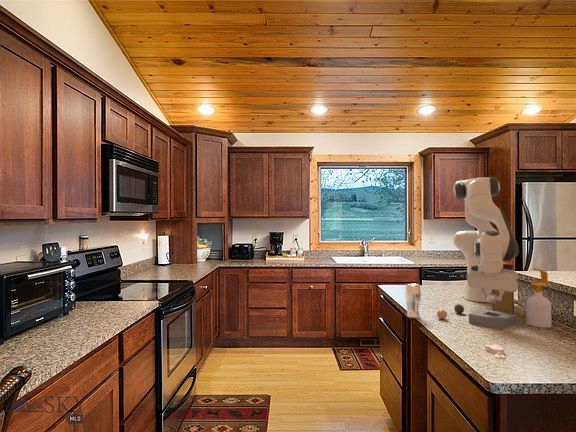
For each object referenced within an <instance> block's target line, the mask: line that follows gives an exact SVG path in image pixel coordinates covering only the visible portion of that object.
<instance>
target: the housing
mask: <svg viewBox="0 0 576 432" xmlns="http://www.w3.org/2000/svg"><path fill="white" fill-rule="evenodd" d="M468 323H469V324H473V325H477V326H482V327H487V328H492V329H497V330H502V331H504V330H506V329H507V328H510V327H512V326H514V325H517V314H515V313H514V314H510V313H504V312H498V311H492V309H486V308H482V309H479V310H477V311H476V310H475V311H474V312H470V313H468Z"/></svg>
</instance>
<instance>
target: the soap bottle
mask: <svg viewBox="0 0 576 432" xmlns="http://www.w3.org/2000/svg"><path fill="white" fill-rule="evenodd" d="M531 269H532V270H536V271H538V272H540V282H536V283H535V282H531V283H530V285H531V286H534V288H535V289H534V290H533V295H532V296H529V297H528V298H526V300H525V321H526V322H525V323H526V325H528V326H531V327H535V328H541V329H542V328H543V329H547V328H551V327H552V302H551V301H550V300H549V299H548V298H546V297H545V296H544V295H543V294H544V293H543V292H544V291H543V290H541V288H542V287H543V286H547V285H548V281H549V280H548V277H549V275H548V272H547V271H546V270H543V269H539V268H535V267H531Z"/></svg>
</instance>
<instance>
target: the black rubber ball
mask: <svg viewBox="0 0 576 432" xmlns="http://www.w3.org/2000/svg"><path fill="white" fill-rule="evenodd" d="M453 309H454V311H455V313H457V314H463V313H464V311H465V307H464V306H463V304H460V303H457V304H455V306H454V307H453Z"/></svg>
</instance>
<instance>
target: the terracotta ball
mask: <svg viewBox="0 0 576 432" xmlns="http://www.w3.org/2000/svg"><path fill="white" fill-rule="evenodd" d="M436 316H437V318H438V319H440V320H446V319H447V317H448V313H447V311H446V310H445V309H442V308H441V309H438V310H437V312H436Z"/></svg>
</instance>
